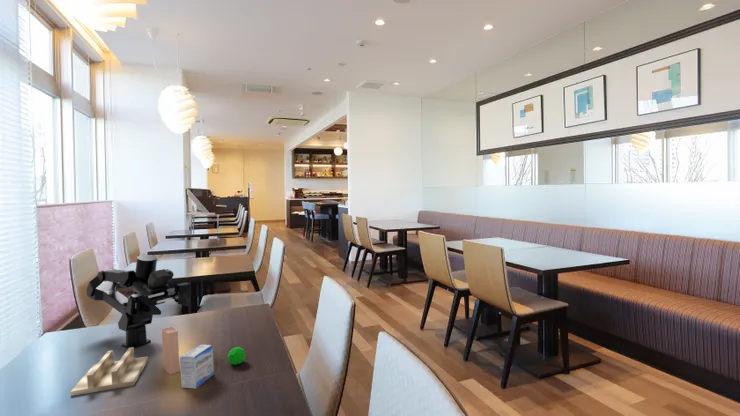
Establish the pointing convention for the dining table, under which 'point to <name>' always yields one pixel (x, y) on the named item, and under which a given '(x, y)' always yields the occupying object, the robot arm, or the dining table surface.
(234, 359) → the polyhedron
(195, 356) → the medicine box
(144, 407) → the dining table surface
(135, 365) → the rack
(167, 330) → the pink rectangular block
